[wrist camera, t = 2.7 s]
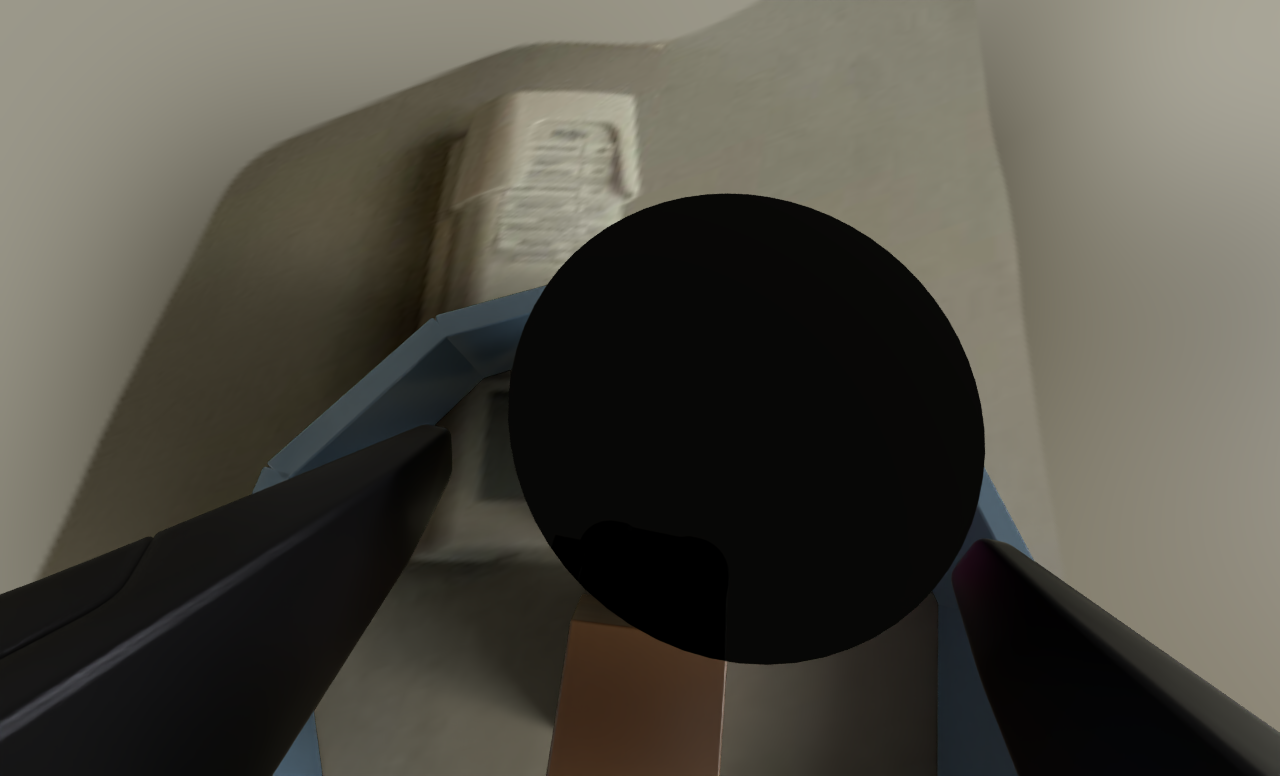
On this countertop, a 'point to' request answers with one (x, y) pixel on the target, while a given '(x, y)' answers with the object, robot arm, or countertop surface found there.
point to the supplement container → (746, 429)
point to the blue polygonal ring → (486, 345)
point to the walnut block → (634, 703)
